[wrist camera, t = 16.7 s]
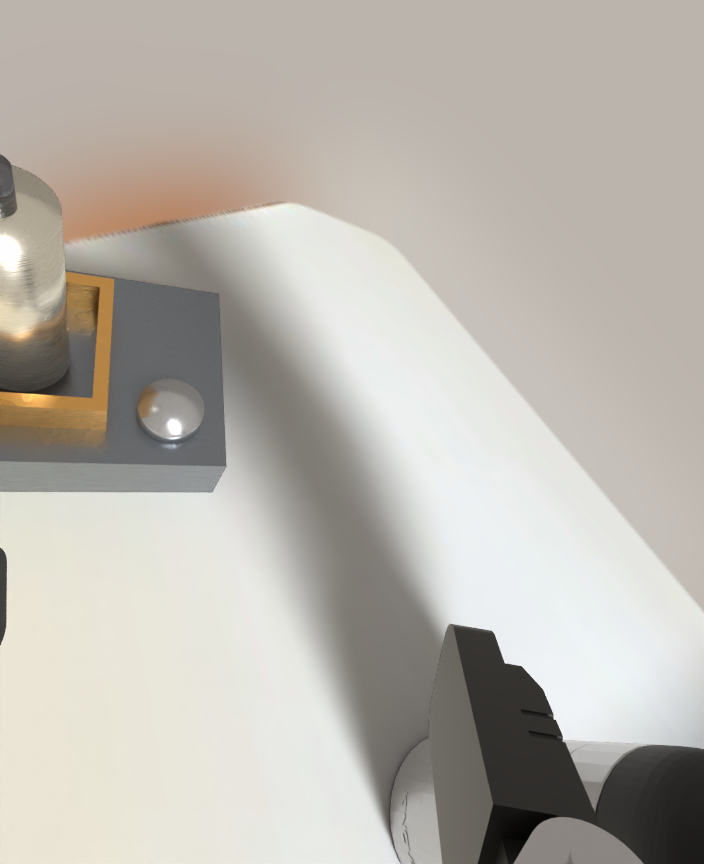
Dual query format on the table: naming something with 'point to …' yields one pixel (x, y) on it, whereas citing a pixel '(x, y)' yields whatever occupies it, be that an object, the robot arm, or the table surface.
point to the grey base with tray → (123, 396)
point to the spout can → (31, 283)
